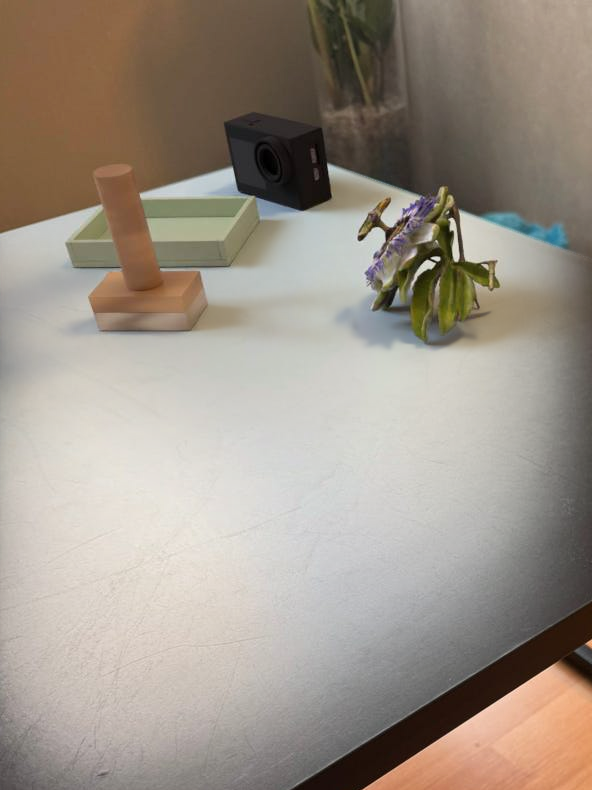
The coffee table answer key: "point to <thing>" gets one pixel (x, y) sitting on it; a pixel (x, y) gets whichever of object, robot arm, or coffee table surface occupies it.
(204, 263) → the tray
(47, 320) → the coffee table surface
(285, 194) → the digital camera
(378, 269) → the passion flower
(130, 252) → the brush
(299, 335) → the coffee table surface
